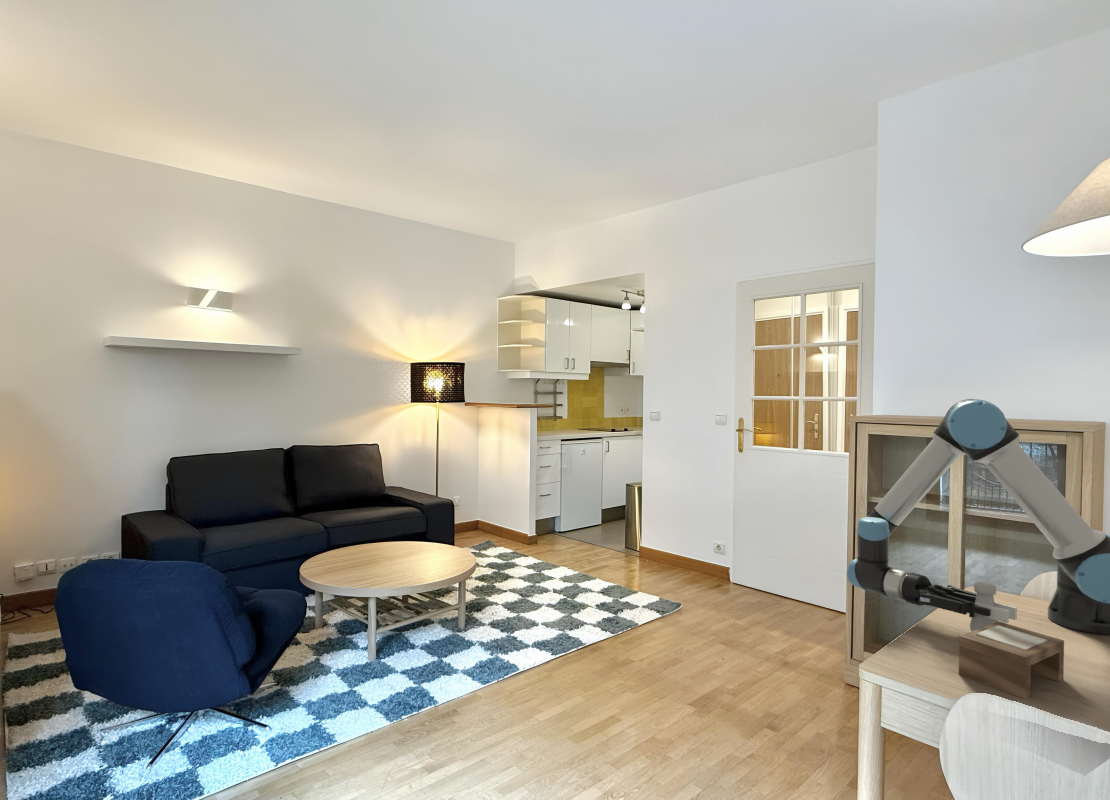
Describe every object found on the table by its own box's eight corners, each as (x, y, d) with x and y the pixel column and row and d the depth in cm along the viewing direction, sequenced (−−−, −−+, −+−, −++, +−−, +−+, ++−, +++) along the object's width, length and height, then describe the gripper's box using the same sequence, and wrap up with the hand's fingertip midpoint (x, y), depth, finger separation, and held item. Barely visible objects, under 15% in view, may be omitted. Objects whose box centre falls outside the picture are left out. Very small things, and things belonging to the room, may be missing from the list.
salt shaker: (1004, 644, 142) (1005, 587, 142) (976, 643, 144) (977, 586, 143) (992, 634, 148) (992, 579, 148) (965, 633, 149) (965, 578, 149)
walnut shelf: (998, 657, 139) (998, 620, 139) (1063, 679, 129) (1064, 639, 128) (958, 673, 131) (959, 634, 131) (1024, 698, 121) (1025, 655, 120)
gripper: (926, 596, 165) (1029, 625, 145) (889, 607, 157) (993, 639, 137) (926, 567, 165) (1029, 592, 145) (889, 577, 157) (993, 605, 137)
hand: (1011, 615), depth 141 cm, fingers closed on salt shaker, 3 cm apart
